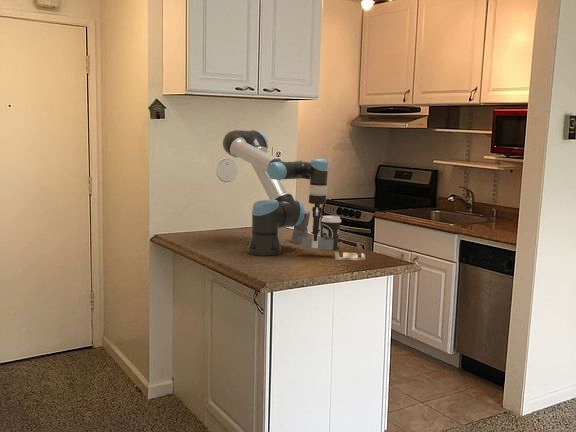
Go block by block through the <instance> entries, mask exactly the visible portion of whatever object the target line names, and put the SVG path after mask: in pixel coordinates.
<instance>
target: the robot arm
mask: <svg viewBox="0 0 576 432" xmlns="http://www.w3.org/2000/svg"><path fill="white" fill-rule="evenodd" d="M268 143H269V141H268V138H267V136H266V135H265V134H264V132H261V131H259V130H254V129H252V130H238V129H236V130H230V131H228V132H227V133H226V134H225V135H224V137H223V140H222V147H223V149H224V151H225V152H226V154H228V155H229V156H232V157H234V158H239V159H242V160H244V161H245V162H247V163H249V164H251V166H252V168H253V170H254V172H255V173H256V176H257V177H258V178H257V179H259V182H260V183H261V185H262V187H263V189H264V192H265V193H266V195H267V197H268V199H262V200H258V201H255V202H254V203H253V204H252V210H251V236H250V239H249V243H248V245H247V254H250V255H253V256H260V257H261V256H263V257H264V256H265V257H267V256H277V255H281V254H282V246H281V245H282V244H281V241H280V238H279V229H281V228H294V226H297V225H299V224H300V223H301V222H302V221H303V219H304V214H305V211H306V210H305V207H304V205H303V202H301V201H300V200H295V198H294V197H293V195H292V194H291V193H288V192H287V190H286V189H285V186H284V184H283V183H282V181H283V180H295V179H296V180H299V179H304V180H309V189H308V193H309V195H308V203H309V204H311V205H314V206H312V209H311V210H312V219H313V220H312V221H313V222H312V231H311V233H310V234H311V237H312V248H318V238H320V237H319V235H320V234H319V233H320V231H321V229H320V219H321V217H322V216H321V215H322V207H321V205H325V204H326V203H327V195H326V194H327V190H329V187H328V174H329V162H328V160H327V159H326V158H311V160H310V162H309V161H302V160H294V161H283V160H281V159H279V158H277V157H275V156H273V155H272V154H270V153H268V148H269V144H268Z"/></svg>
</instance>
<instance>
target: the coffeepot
mask: <svg viewBox="0 0 576 432" xmlns="http://www.w3.org/2000/svg"><path fill="white" fill-rule="evenodd" d="M310 216H311V211H308V210H305V214H304V219H303V221H302V222H301V223H300V224H299V225H297V226H293V231H292V235H291V243H293V244H299V245H300V244H301V245H302V237H309V231H308V226H309V222H310Z"/></svg>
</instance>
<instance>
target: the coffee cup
mask: <svg viewBox="0 0 576 432" xmlns="http://www.w3.org/2000/svg"><path fill="white" fill-rule="evenodd" d="M320 221H321V227H322V228H321V229H322V238H333V240H334V242H333V250H337V249H338V246H339V237H340V236H339V235H340V228H341V227H340V226H341V223H342V219H341V217H340V216H338V215H323V216H322V218H321V220H320Z"/></svg>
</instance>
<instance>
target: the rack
mask: <svg viewBox="0 0 576 432" xmlns="http://www.w3.org/2000/svg"><path fill="white" fill-rule="evenodd" d="M362 249H363V246H362V245H361V242H358V241H357V242H356V252H344V245H343V241H338V251H334V253H333V254H334V260H335V261H337V260H338V261H339V260H340V261H363V262H364V261H365V262H366V255H365V253H363V251H362Z"/></svg>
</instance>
